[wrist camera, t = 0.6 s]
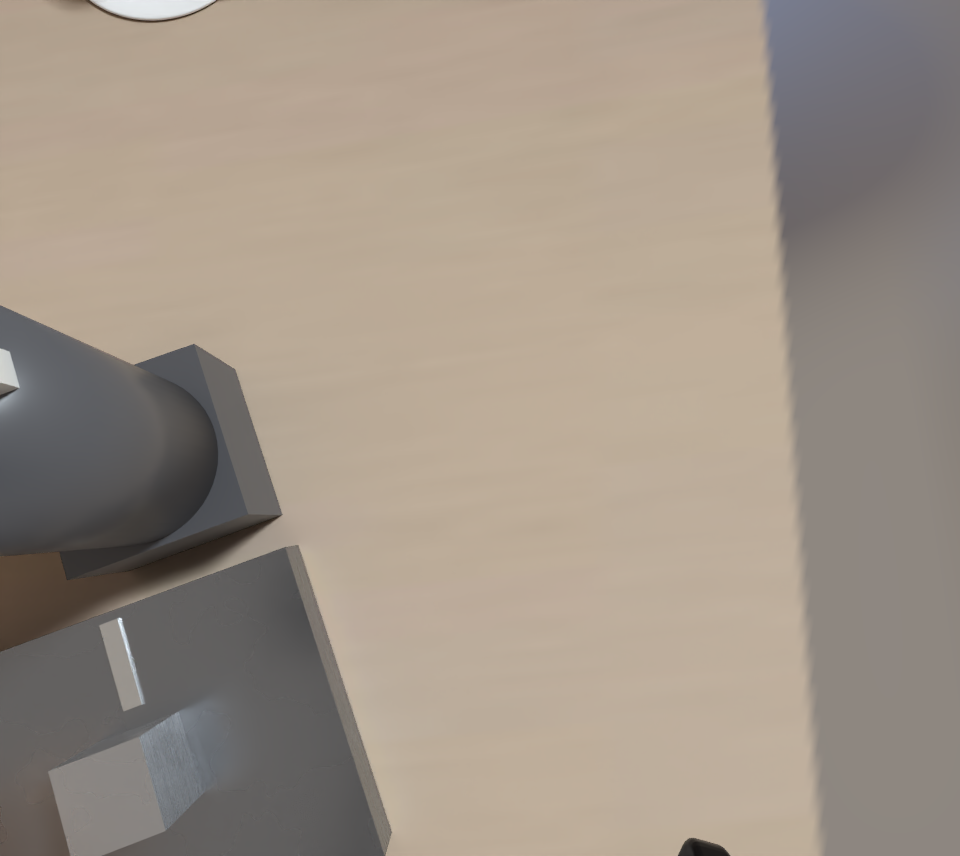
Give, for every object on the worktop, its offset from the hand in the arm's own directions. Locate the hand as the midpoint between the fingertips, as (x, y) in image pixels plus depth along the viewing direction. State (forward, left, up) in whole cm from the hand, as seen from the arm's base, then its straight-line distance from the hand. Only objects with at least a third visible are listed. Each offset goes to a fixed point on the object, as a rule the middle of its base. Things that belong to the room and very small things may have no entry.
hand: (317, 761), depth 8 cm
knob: (-6, +7, -15) cm, 18 cm away
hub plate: (-9, -2, -15) cm, 18 cm away
